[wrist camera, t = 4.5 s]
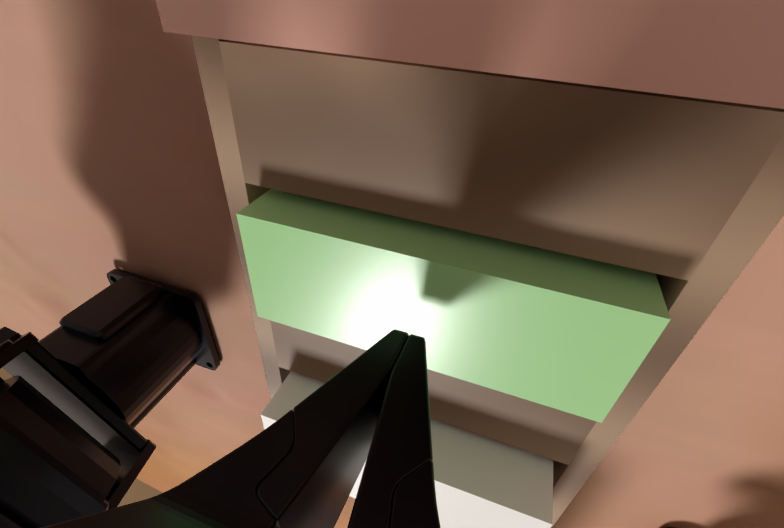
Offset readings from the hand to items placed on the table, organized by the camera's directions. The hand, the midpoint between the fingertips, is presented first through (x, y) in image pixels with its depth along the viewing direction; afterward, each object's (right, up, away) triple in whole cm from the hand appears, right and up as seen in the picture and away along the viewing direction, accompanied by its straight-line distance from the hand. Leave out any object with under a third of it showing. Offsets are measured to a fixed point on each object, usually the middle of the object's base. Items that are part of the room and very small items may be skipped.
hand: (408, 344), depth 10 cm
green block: (+2, +3, +4) cm, 5 cm away
